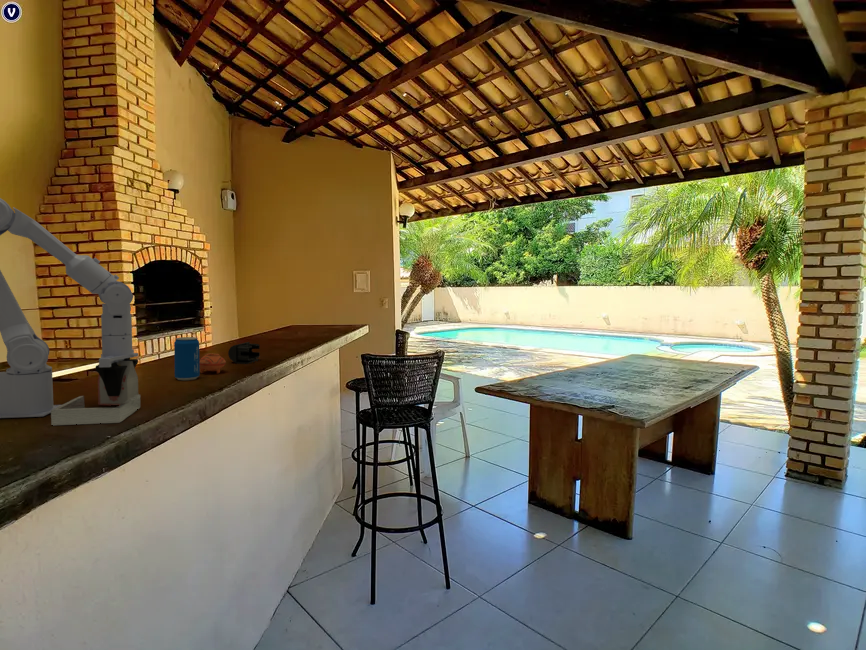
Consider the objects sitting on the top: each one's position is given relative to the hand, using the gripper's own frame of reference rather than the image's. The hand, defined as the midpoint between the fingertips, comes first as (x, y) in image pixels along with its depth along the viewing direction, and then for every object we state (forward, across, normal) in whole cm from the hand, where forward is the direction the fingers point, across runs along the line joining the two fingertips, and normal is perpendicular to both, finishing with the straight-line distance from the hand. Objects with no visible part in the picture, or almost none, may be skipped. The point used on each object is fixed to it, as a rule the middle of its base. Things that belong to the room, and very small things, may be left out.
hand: (118, 393), depth 106 cm
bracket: (+2, -10, 0) cm, 10 cm away
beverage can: (+3, +28, -8) cm, 29 cm away
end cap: (+3, +58, -20) cm, 61 cm away
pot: (+3, +37, -13) cm, 39 cm away
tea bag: (+3, 0, 0) cm, 3 cm away
